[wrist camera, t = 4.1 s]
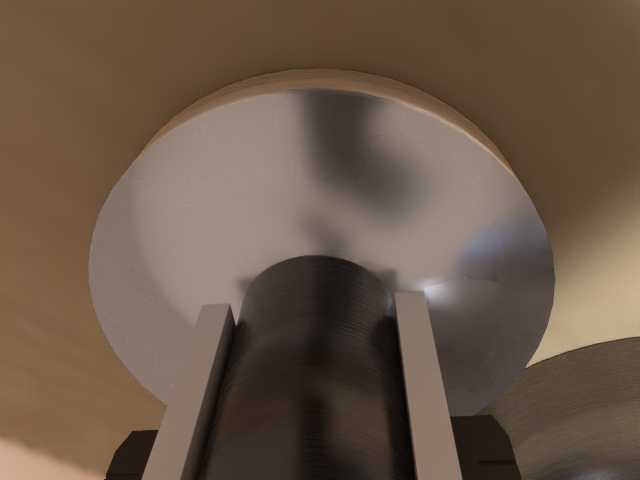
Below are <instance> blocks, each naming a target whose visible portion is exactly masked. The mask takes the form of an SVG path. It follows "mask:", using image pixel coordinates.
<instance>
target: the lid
mask: <svg viewBox="0 0 640 480" xmlns="http://www.w3.org/2000/svg"><path fill="white" fill-rule="evenodd" d="M88 272H89V288H90V293H91V298H92V302H93V307H94V311H95V313H96V316H97V319H98V321H99V324H100V326H101V329H102V331H103V333H104V335H105V337H106V339H107V340H108V342H109V344H110V346H111V348H112V349H113V351H114V353H115V354H116V355H117V357H118V358H119V359H120V361H121V362H122V363H123V365H124V366H125V367H126V369H127V370H128V371H129V372H130V373H131V374H132V375H133V376H134V377H135V378H136V379H137V381H138V382H139V383H140V384H141V385H142V386H143V387H144V388H146V389H147V390H148V391H149V392H150V393H151V394H153V395H154V396H155V397H156V398H157V399H159V400H160V401H161V402H162V403H164V404H165V405H168V402H169V399H170V396H171V393H172V391H173V388H174V385H175V382H176V379H177V376H178V373H179V371H180V368H181V365H182V362H183V359H184V356H185V353H186V350H187V348H188V345H189V342H190V339H191V336H192V333H193V330H194V328H195V325H196V322H197V319H198V316H199V313H200V310H201V307H202V305H208V304H224V303H230V305H231V309H232V312H233V316H234V320H235V323H236V330H235V334H234V338H233V341H232V345H231V349H230V353H229V357H228V361H227V365H226V369H225V373H224V377H223V381H222V385H221V389H220V393H219V397H218V401H217V405H216V409H215V413H214V417H213V421H212V425H211V429H210V433H209V437H208V441H207V445H206V449H205V453H204V457H203V461H202V465H201V468H200V472H199V476H198V480H415V475H414V467H413V459H412V450H411V442H410V434H409V426H408V417H407V409H406V401H405V393H404V385H403V376H402V368H401V360H400V352H399V344H398V335H397V327H396V316H395V295H394V292H408V291H424V293H425V298H426V303H427V308H428V313H429V318H430V323H431V328H432V333H433V338H434V342H435V347H436V352H437V357H438V362H439V367H440V372H441V377H442V382H443V387H444V392H445V397H446V401H447V406H448V411H449V416H450V417H452V416H473V415H475V414H476V413H477V412H479V411H480V410H482V409H483V408H484V407H486V406H487V405H488V404H490V403H491V402H493V401H494V400H495V399H496V398H497V397H498V396H499V395H500V394H501V393H503V392H504V391H505V390H506V389H507V388H508V387H509V386H510V385H511V384H512V383H513V382H514V380H515V379H516V378H517V377H518V376H519V374H520V373H521V372H522V371H523V370H524V368H525V367H526V366H527V364H528V362H529V361H530V359H531V358H532V356H533V355H534V353H535V351H536V350H537V348H538V346H539V344H540V341H541V339H542V337H543V335H544V332H545V330H546V328H547V325H548V321H549V317H550V313H551V309H552V305H553V297H554V284H555V275H554V264H553V254H552V250H551V247H550V243H549V240H548V236H547V233H546V229H545V227H544V225H543V223H542V221H541V218H540V216H539V214H538V212H537V210H536V208H535V206H534V204H533V202H532V201H531V199H530V197H529V196H528V194H527V192H526V191H525V189H524V188H523V186H522V184H521V183H520V181H519V180H518V178H517V176H516V175H515V173H514V171H513V170H512V168H511V167H510V165H509V164H508V162H507V161H506V160H505V158H504V157H503V155H502V154H501V153H500V151H499V150H498V148H497V147H496V146H495V144H494V143H493V142H492V141H491V140H490V139H489V138H488V137H487V136H486V135H485V134H484V133H483V132H482V131H481V130H480V129H479V128H478V127H477V126H476V125H475V124H474V123H473V122H471V121H470V120H469V119H467V118H466V117H465V116H463V115H462V114H461V113H459V112H458V111H457V110H455V109H454V108H453V107H451V106H450V105H448V104H446V103H444V102H443V101H441V100H439V99H437V98H435V97H433V96H432V95H430V94H428V93H426V92H424V91H422V90H420V89H417V88H415V87H412V86H409V85H407V84H404V83H401V82H399V81H396V80H393V79H390V78H386V77H382V76H377V75H373V74H369V73H364V72H360V71H351V70H340V69H329V68H315V69H291V70H285V71H279V72H274V73H268V74H263V75H257V76H254V77H251V78H248V79H245V80H242V81H239V82H236V83H233V84H230V85H227V86H225V87H223V88H221V89H219V90H217V91H215V92H213V93H210V94H208V95H206V96H204V97H202V98H200V99H199V100H197V101H196V102H194V103H193V104H191V105H190V106H188V107H187V108H185V109H184V110H183V111H181V112H180V113H178V114H177V115H175V116H174V117H173V118H172V119H171V120H170V121H169V122H168V123H167V124H166V125H165V126H164V127H162V128H161V129H160V130H159V131H158V132H157V133H156V134H155V135H154V136H153V138H152V139H151V140H150V141H149V143H148V144H147V145H146V146H145V148H144V149H143V150H142V151H141V153H140V154H139V155H138V156H137V158H136V159H135V160H134V161H133V163H132V164H131V165H130V166H129V168H128V169H127V170H126V171H125V173H124V174H123V175H122V177H121V178H120V179H119V181H118V182H117V183H116V185H115V186H114V187H113V188H112V190H111V192H110V194H109V195H108V197H107V199H106V201H105V203H104V205H103V207H102V209H101V211H100V213H99V215H98V218H97V221H96V225H95V228H94V231H93V234H92V237H91V244H90V252H89V259H88Z"/></svg>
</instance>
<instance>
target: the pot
mask: <svg viewBox="0 0 640 480" xmlns="http://www.w3.org/2000/svg"><path fill="white" fill-rule="evenodd" d="M476 415H493V416H494V418H495V419H496V420H497V421H498V423H499V424H500V425H501V427H502V428H503V429H504V430H505V432H506V433H507V434H508V435H509V438H510V442H511V445H512V448H513V451H514V455H515V458H516V463H517V465H518V468H519V471H520V474H521V477H522V480H640V337H636V338H627V339H622V340H616V341H611V342H605V343H600V344H596V345H592V346H588V347H585V348H581V349H577V350H574V351H570V352H567V353H564V354H561V355H559V356H556V357H553V358H550V359H548V360H545V361H542V362H540V363H538V364H536V365H533V366H531V367H529V368H527V369H525V370H523V371H522V372H521V373H520V374H519V376H518V377H517V378H516V379H515V380H514V382H513V383H512V384H511V385H510V386H509V387H508V388H507V389H506V390H505V391H504V392H503V393H501V394H500V395H499V396H498V397H497V398H496V399H495V400H494V401H493V402H491V403H490V404H488V405H487V406H486V407H484V408H483V409H482V410H480V411H479V412H477V413H476V414H475V415H473V416H476Z"/></svg>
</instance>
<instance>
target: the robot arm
mask: <svg viewBox="0 0 640 480" xmlns="http://www.w3.org/2000/svg"><path fill="white" fill-rule="evenodd" d="M394 295H395V316H396V327H397V335H398V344H399V352H400V360H401V368H402V376H403V385H404V393H405V401H406V409H407V417H408V426H409V434H410V442H411V450H412V459H413V467H414V475H415V480H522V477H521V474H520V471H519V468H518V465H517V463H516V458H515V455H514V451H513V448H512V445H511V442H510V438H509V435H508V434H507V433H506V432H505V430H504V429H503V428H502V427H501V425H500V424H499V423H498V421H497V420H496V419H495V418H494V416H493V415H476V416H452V417H450V416H449V411H448V406H447V401H446V397H445V392H444V387H443V382H442V377H441V372H440V367H439V362H438V357H437V352H436V347H435V342H434V338H433V333H432V328H431V323H430V318H429V313H428V308H427V303H426V298H425V293H424V291H408V292H394ZM235 330H236V323H235V320H234V316H233V312H232V309H231V305H230V303H224V304H208V305H202V307H201V310H200V313H199V316H198V319H197V322H196V325H195V328H194V330H193V333H192V336H191V339H190V342H189V345H188V348H187V350H186V353H185V356H184V359H183V362H182V365H181V368H180V371H179V373H178V376H177V379H176V382H175V385H174V388H173V391H172V393H171V396H170V399H169V402H168V405H167V408H166V411H165V414H164V416H163V419H162V422H161V425H160V428H159V430H144V431H132V432H131V433H130V435H129V436H128V437H127V438H126V440H125V441H124V442H123V443H122V444H121V446H120V447H119V448H118V449H117V450H116V452H115V454H114V457H113V459H112V461H111V464H110V466H109V469H108V471H107V473H106V479H104V480H198V476H199V472H200V468H201V465H202V461H203V457H204V453H205V449H206V445H207V441H208V437H209V433H210V429H211V425H212V421H213V417H214V413H215V409H216V405H217V401H218V397H219V393H220V389H221V385H222V381H223V377H224V373H225V369H226V365H227V361H228V357H229V353H230V349H231V345H232V341H233V338H234V334H235Z"/></svg>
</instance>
